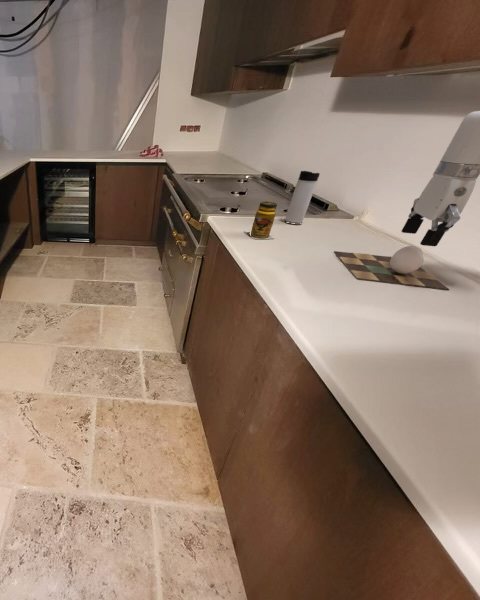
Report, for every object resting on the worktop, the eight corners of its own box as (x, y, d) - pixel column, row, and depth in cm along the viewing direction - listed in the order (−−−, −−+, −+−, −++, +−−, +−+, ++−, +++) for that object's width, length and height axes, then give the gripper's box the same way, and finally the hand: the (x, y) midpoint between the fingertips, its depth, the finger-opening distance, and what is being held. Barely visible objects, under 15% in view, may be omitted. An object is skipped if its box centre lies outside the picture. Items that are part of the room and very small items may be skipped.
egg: (388, 274, 89) (402, 248, 85) (382, 266, 94) (396, 240, 90) (418, 279, 87) (434, 252, 83) (410, 270, 92) (426, 244, 87)
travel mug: (280, 221, 131) (297, 170, 121) (290, 219, 134) (307, 168, 123) (295, 226, 126) (313, 172, 116) (305, 223, 129) (324, 170, 119)
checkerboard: (408, 259, 99) (409, 258, 98) (448, 290, 83) (449, 288, 82) (333, 252, 104) (334, 250, 104) (356, 279, 88) (357, 277, 88)
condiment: (253, 239, 115) (263, 205, 108) (243, 231, 122) (252, 199, 116) (274, 239, 114) (285, 205, 108) (262, 231, 122) (272, 199, 115)
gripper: (505, 178, 68) (455, 252, 77) (454, 166, 82) (417, 230, 91) (460, 176, 70) (417, 248, 79) (418, 164, 84) (385, 227, 93)
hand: (417, 238), depth 85 cm, fingers open, 9 cm apart
